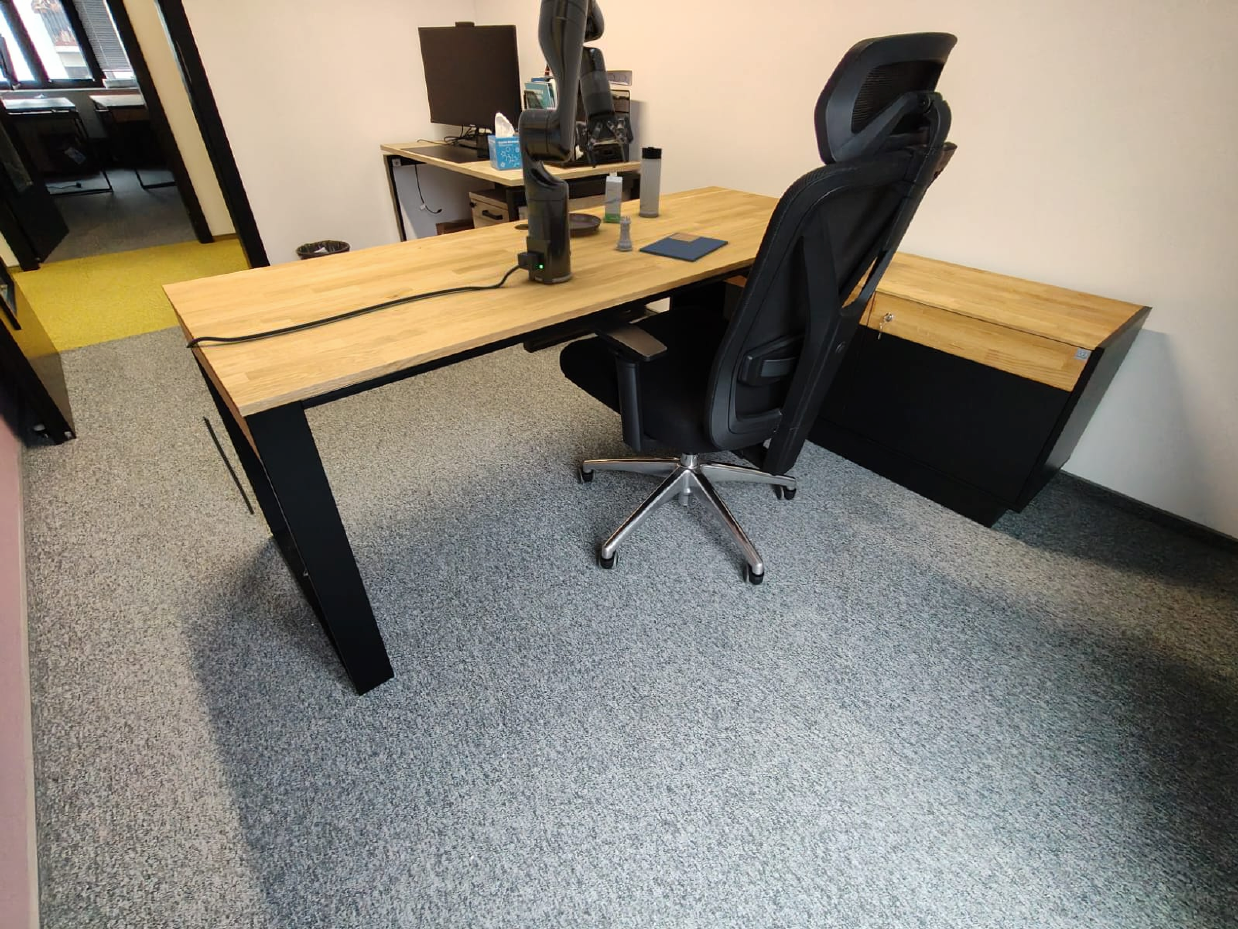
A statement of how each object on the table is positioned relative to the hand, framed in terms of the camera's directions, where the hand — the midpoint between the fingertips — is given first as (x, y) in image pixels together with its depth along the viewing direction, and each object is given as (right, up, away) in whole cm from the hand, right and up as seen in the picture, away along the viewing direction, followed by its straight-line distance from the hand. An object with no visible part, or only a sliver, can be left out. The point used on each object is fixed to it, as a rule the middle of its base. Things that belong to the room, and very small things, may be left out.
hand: (610, 164), depth 146 cm
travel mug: (+12, +3, +37) cm, 39 cm away
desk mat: (+20, -19, +7) cm, 29 cm away
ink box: (0, -1, +31) cm, 31 cm away
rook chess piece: (+4, -21, +4) cm, 22 cm away
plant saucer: (-12, -10, +19) cm, 24 cm away
